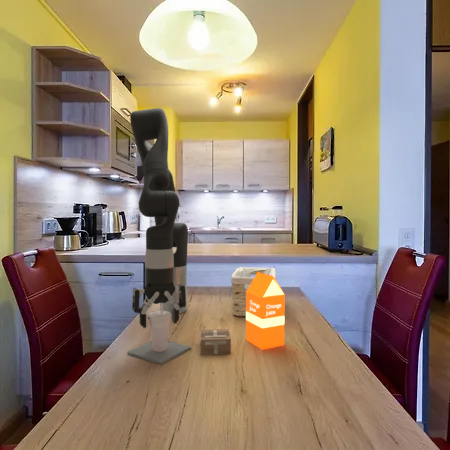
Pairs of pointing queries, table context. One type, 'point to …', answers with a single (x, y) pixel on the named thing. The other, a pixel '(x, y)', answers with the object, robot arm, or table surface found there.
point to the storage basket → (245, 286)
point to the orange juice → (265, 312)
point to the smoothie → (159, 328)
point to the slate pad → (159, 357)
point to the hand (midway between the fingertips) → (159, 325)
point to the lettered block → (215, 341)
